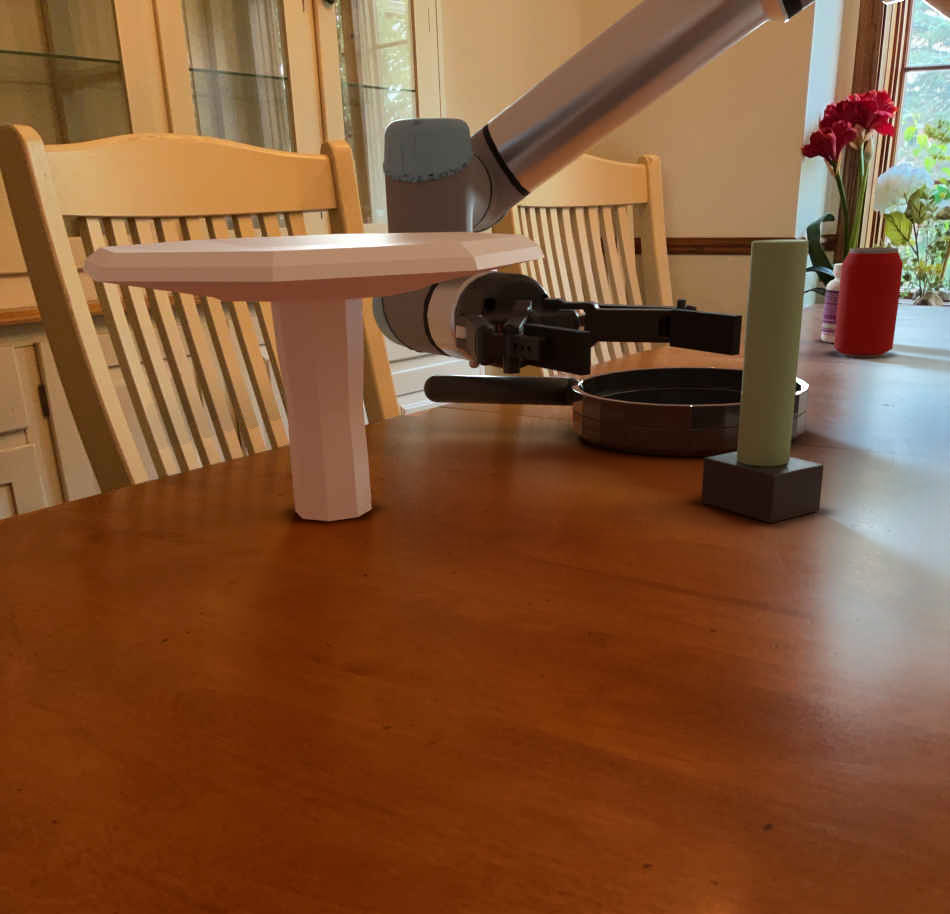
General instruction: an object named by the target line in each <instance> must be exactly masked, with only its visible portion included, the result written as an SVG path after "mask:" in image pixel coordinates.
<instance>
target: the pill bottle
mask: <svg viewBox="0 0 950 914" xmlns="http://www.w3.org/2000/svg"><path fill="white" fill-rule="evenodd" d="M842 263H843V262H841V263H835V264H833V271H832V275H833V276H834V279H832V280H830V281H829V282H828V283H827V284H826V287H825V294H824V304H823V314H822V322H821V335H820V339H821V341H823V342H825V343H830V344H834V339H835V328H836V317H837V307H838V297H839V287H840V278H841V269H842Z"/></svg>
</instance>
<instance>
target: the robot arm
mask: <svg viewBox="0 0 950 914" xmlns="http://www.w3.org/2000/svg"><path fill="white" fill-rule="evenodd" d="M816 1H818V0H642V1H641V2H639V3H638V4H637V5H635V6H634V7H633V8H631V10H629V11H628V12H627V13H625V14H624V15H623V16H622V17H620V18H619V19H618V20H616V21H615V22H614V23H613V24H612V25H610V26H609V27H608V28H607V29H605V30H604V31H602V32H601V33H600V34H599V35H597V36H596V37H595V38H594V39H592V40H591V41H590V42H589V43H587V44H586V45H585V46H583V47H582V48H581V49H580V50H578V51H577V52H576V53H574V54H573V55H572V56H571V57H569V58H568V59H566V61H564V62H563V63H561V65H559V66H558V67H557V68H556V69H554V70H553V71H552V72H550V73H549V74H547V75H546V76H545V77H544V78H543V79H541V80H540V81H539V82H537V83H536V84H535V85H533V86H532V87H531V88H530V89H528V90H527V91H526V92H525V93H523V94H522V95H521V96H520V97H519V98H517V99H516V100H515V101H513V102H512V103H511V104H510V105H508V106H507V107H505V108H504V109H503V110H502V111H501V112H500V113H498V114H497V115H496V116H494V117H493V118H492V119H490V120H489V121H488V122H487V123H486V124H485V125H484V126H482V127H480V128H479V129H478V130H477V131H475V132H474V133H473V134H471V129H470V126H469V125H468V124H467V122H466V121H465V120H463V119H460V118H454V117H419V118H418V117H414V118H402V119H396V120H393V121H391V122H390V123H388V125H387V126H386V128H385V130H384V136H383V137H384V139H383V141H384V142H383V148H384V150H383V154H384V155H383V162H382V170H383V171H382V173H383V174H384V184H385V185H384V186H385V200H386V201H385V202H386V218H387V219H386V221H387V233H429V232H475V233H484V232H485V231H487V230H489V229H491V228H492V227H494V226H495V225H497V224H499V223H500V222H501V221H502V220H504V218H505V217H506V216H507V214H508V213H509V211H510V210H511V209H512V208H513V207H515V206H516V205H517V204H519V203H520V202H522V201H523V200H524V199H526V197H528V196H529V195H530V194H532V192H534V191H535V190H537V189H538V188H539V187H541V186H543V185H544V184H545V183H546V182H548V181H549V180H551V179H552V178H553V177H555V176H556V175H557V174H559V173H561V171H563V170H564V169H566V168H567V167H569V166H570V165H571V164H573V163H574V162H576V161H577V160H578V159H579V158H581V157H582V156H583V155H585V154H586V153H588V152H589V151H590V150H592V149H593V148H594V147H596V146H597V145H599V144H600V143H601V142H603V141H605V139H607V138H608V137H610V136H611V135H612V134H613V133H615V132H617V130H620V129H621V127H623V126H625V125H626V124H627V123H629V122H630V121H631V120H633V119H634V118H635V117H637V116H638V115H640V114H641V113H642V112H644V111H645V110H647V109H648V108H649V107H652V105H653V104H655V103H656V102H657V101H659V100H660V99H662V98H663V97H665V96H666V95H667V94H668V93H670V92H671V91H672V90H674V89H675V88H677V87H678V86H679V85H681V84H682V83H684V82H685V81H686V80H688V79H690V77H692V76H693V75H694V74H696V73H698V71H700V70H702V69H703V68H704V67H706V66H707V65H709V64H710V63H711V62H713V61H714V60H715V59H716V58H718V57H719V56H721V55H722V54H723V53H725V52H726V51H727V50H729V49H730V48H732V47H733V46H734V45H736V44H737V43H738V42H740V41H741V40H742V39H744V38H745V37H747V36H748V35H750V34H751V33H752V32H753V31H755V30H756V29H758V28H759V27H760V26H762V25H763V24H765V23H766V22H778V23H786V22H788V21H789V20H791V19H792V18H794V17H795V16H796V15H798V14H799V13H800V12H802V11H803V10H805V9H806V8H808V7H809V6H810V5H812V4H814V3H815V2H816ZM880 1H881V2H882V3H883V4H885V5H889V4H894V3H899V2H902V1H903V0H880ZM922 2H924V3H925V4H927V6H929V7H930V8H932V9H933V10H934V11H936V12H937V13H938V14H940V15H941V16H943V17H944V18H945V19H946V20H948V21H949V22H950V0H922ZM371 301H372V302H371V307H372V315H373V319H374V321H375V323H376V326H377V329H379V331H380V332H381V333H382V335H383V336H384V337H385V338H387V340H389V341H391V342H392V343H394V344H396V345H398V346H401V347H405V348H407V349H408V350H410V351H414V352H416V353H420V354H423V353H424V354H433V355H439V356H444V357H449V358H454V359H459V360H465V361H468V364H469V368H471V369H477V368H479V367H480V366H483V367H487V366H489V367H494V368H499V369H502V373H503V374H506V375H516V374H517V375H518V374H520V373H521V369H523V368H525V367H528V366H531V367H535V368H541V369H545V370H549V371H556V372H561V373H566V374H571V375H576V376H581V377H583V376H591V375H592V374H591V373H592V371H591V370H592V369H591V368H592V367H591V366H592V348H593V347H594V346H596V345H597V343H644V344H645V343H648V344H649V343H651V344H652V343H653V344H655V343H656V344H668V345H669V347H673V348H678V349H684V350H691V351H698V352H704V353H710V354H711V353H712V354H717V355H718V354H719V355H724V356H725V355H726V356H731V357H732V356H739V355H740V350H741V338H742V326H743V325H742V324H743V315H742V314H732V313H722V312H714V311H706V310H705V311H704V310H698V307H696V306H695V305H692V304H687V298H678V299H677V301H676V305H652V304H651V305H647V304H619V303H618V304H617V303H603V302H595V301H594V300H593V301H591V300H590V301H589V300H588V301H580V300H579V301H568V300H566V299H564V298H563V297H549V295H548V293H547V291H546V290H545V289H544V287H543V286H542V285H541V284H540V282H539V281H537V280H536V279H534V277H531V276H529V275H526V274H523V273H516V272H515V273H514V272H502V271H495V270H490V271H486V272H482V273H478V274H474V275H469V276H465V277H461V278H457V279H452V280H448V281H444V282H440V283H436V284H432V285H430V286H427V287H425V288H423V289H420V290H415V291H410V292H406V293H401V294H396V295H391V296H384V297H372V300H371ZM580 310H582V311H583V312H581V313H578V311H580ZM582 327H583V328H582ZM580 328H582V330H581V329H580Z"/></svg>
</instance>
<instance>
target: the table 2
mask: <svg viewBox="0 0 950 914" xmlns="http://www.w3.org/2000/svg"><path fill="white" fill-rule="evenodd" d="M545 258H546V257H545V255H544V253H543V249H542V247H541V245H539V244H538V243H537V242H535V241H534V240H532V239H531V238H529V237H528V236H526V235H525V234H517V233H515V234H514V233H497V232H496V233H493V232H478V233H475V232H429V233H388V232H378V233H377V232H375V233H373V232H371V233H330V234H329V233H328V234H327V233H326V234H307V235H306V234H304V235H303V234H301V235H281V236H280V235H279V236H278V235H277V236H258V237H257V236H256V237H255V236H253V237H232V238H231V237H230V238H209V239H207V238H205V239H192V240H191V239H187V240H176V241H175V240H174V241H162V242H149V243H137V244H136V243H135V244H123V245H111V246H110V245H109V246H100V247H98V248H97V249H96V250H95V251H94V252H92V253H90V254H89V256H87V257H86V258H85V259H84V263H83V268H82V272H83V273H84V274H85V275H87V276H88V277H89V278H91V279H92V280H93V281H95V282H96V283H97V282H98V283H106V284H110V285H111V284H113V285H120V286H127V287H135V288H142V289H150V290H156V291H163V292H170V293H171V292H172V293H178V294H179V293H180V294H185V295H186V294H187V295H193V296H201V297H209V298H214V299H216V300H219V301H222V302H246V303H247V302H249V303H250V302H255V303H257V302H260V303H265V302H266V303H270V311H271V314H272V315H271V316H272V325H273V331H274V339H275V346H276V347H275V348H276V353H277V354H276V355H277V359H278V364H279V370H280V376H281V381H282V382H281V383H282V387H283V393H284V398H285V403H286V404H285V405H286V411H287V413H286V414H287V427H288V442H289V444H288V445H289V456H290V457H289V459H290V468H291V469H290V470H291V480H292V488H293V490H292V491H293V498H294V499H293V500H294V510H295V513H297V515H298V516H299V517H300V518H301V519H303V520H310V521H311V520H312V521H313V520H314V521H322V522H333V521H339V520H341V521H342V520H347V519H354V518H359V517H361V516H362V515H364V514H366V513H368V512H369V511H371V510H373V507H372V493H371V479H370V478H371V476H370V463H369V462H370V461H369V451H368V441H367V440H368V439H367V432H366V422H365V421H366V420H365V411H364V374H365V373H364V371H365V369H364V368H365V367H364V365H365V363H364V361H365V360H364V359H365V346H364V345H365V343H364V342H365V340H364V314H363V313H364V312H363V311H364V309H363V299H369V298H373V297H384V296H391V295H396V294H401V293H406V292H410V291H415V290H420V289H423V288H425V287H427V286H430V285H432V284H436V283H440V282H444V281H448V280H452V279H457V278H461V277H465V276H469V275H474V274H478V273H482V272H486V271H495V270H499V269H503V268H508V267H511V266H516V265H519V264H525V263H528V262H533V261H537V260H541V259H545Z"/></svg>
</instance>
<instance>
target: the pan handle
mask: <svg viewBox="0 0 950 914" xmlns="http://www.w3.org/2000/svg"><path fill="white" fill-rule="evenodd" d="M578 380H579V379H577V378H575V377H572V376H571V377H570V376H529V375H527V376H525V375H524V376H521V375H518V376H517V375H471V374H469V375H468V374H467V375H465V374H463V375H462V374H433V375H431V376H429V377H428V378H427V379H426V380H425V382H424V385H423V392H424V396H425V397H426V398H427V399H428V400H429V401H430V402H433V403H442V404H443V403H444V404H483V405H484V404H485V405H523V406H528V405H529V406H559V407H560V406H562V407H563V406H564V407H571V385H572V384H575V383H579V382H580V381H578ZM580 390H581V391H583V386H582V384H581V385H580Z"/></svg>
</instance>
